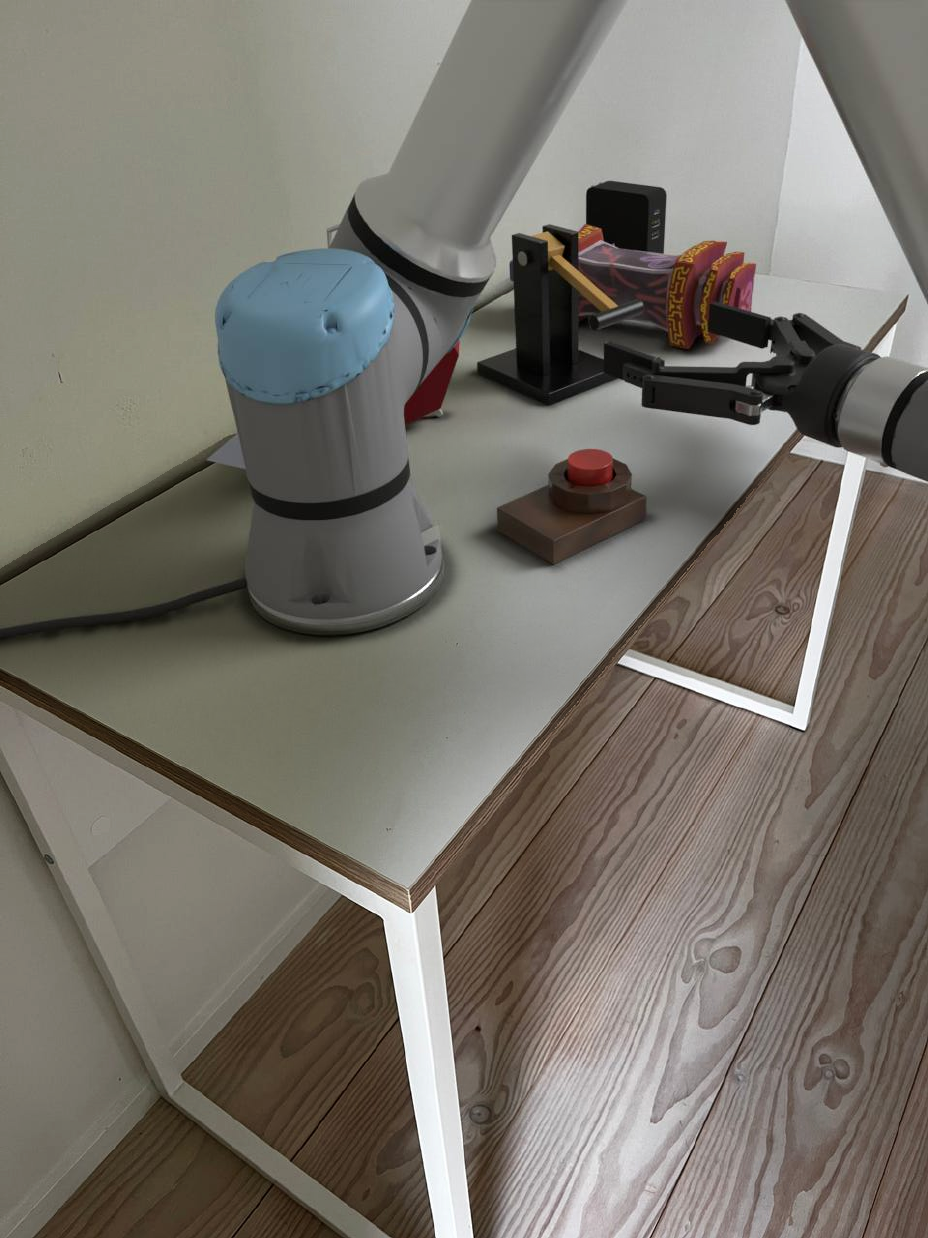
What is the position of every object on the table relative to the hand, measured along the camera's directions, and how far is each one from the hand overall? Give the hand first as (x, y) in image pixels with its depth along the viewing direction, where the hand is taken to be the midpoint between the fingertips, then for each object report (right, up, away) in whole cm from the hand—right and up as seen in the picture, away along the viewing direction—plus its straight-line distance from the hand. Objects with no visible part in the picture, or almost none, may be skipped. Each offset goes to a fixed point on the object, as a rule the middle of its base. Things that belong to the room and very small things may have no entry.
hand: (660, 335), depth 91 cm
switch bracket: (-9, 0, +16) cm, 18 cm away
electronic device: (+4, +22, +45) cm, 50 cm away
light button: (-8, -15, -11) cm, 20 cm away
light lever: (-7, +6, +7) cm, 12 cm away
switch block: (-9, -18, -10) cm, 23 cm away
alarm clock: (-25, -7, +9) cm, 28 cm away
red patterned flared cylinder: (+1, +9, +26) cm, 28 cm away
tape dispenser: (-34, -12, +2) cm, 36 cm away
